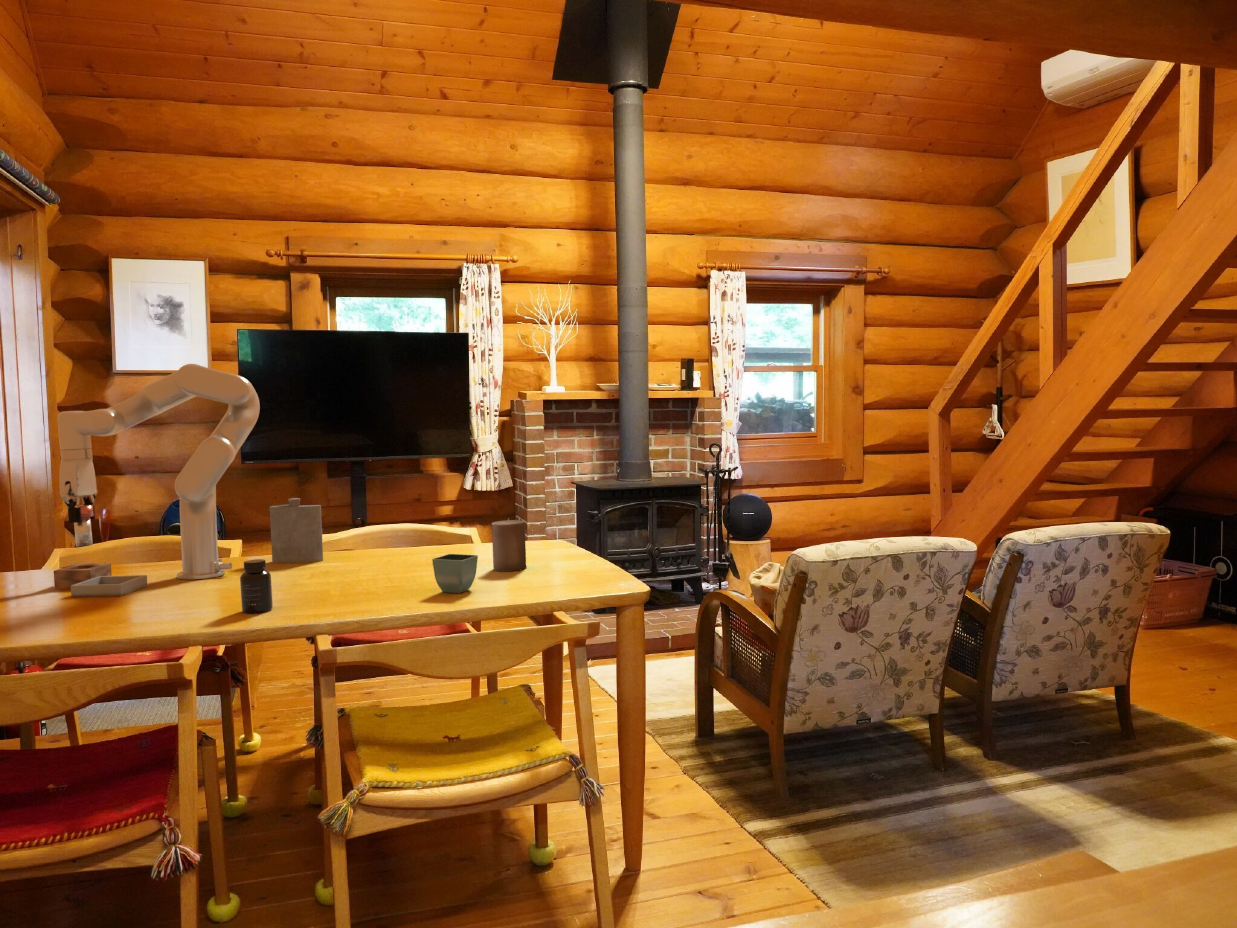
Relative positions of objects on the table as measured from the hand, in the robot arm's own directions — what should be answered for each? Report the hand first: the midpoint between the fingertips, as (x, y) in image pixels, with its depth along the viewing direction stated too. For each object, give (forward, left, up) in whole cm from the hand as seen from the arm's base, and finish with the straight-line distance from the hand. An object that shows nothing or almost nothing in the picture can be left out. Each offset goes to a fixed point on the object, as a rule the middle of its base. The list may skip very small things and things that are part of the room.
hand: (82, 520), depth 248 cm
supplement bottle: (-62, +37, -18) cm, 75 cm away
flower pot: (-106, +19, -18) cm, 110 cm away
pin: (0, 0, -7) cm, 7 cm away
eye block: (+1, 0, -18) cm, 18 cm away
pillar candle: (-116, -12, -18) cm, 118 cm away
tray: (-12, +10, -18) cm, 24 cm away
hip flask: (-47, -32, -18) cm, 60 cm away
